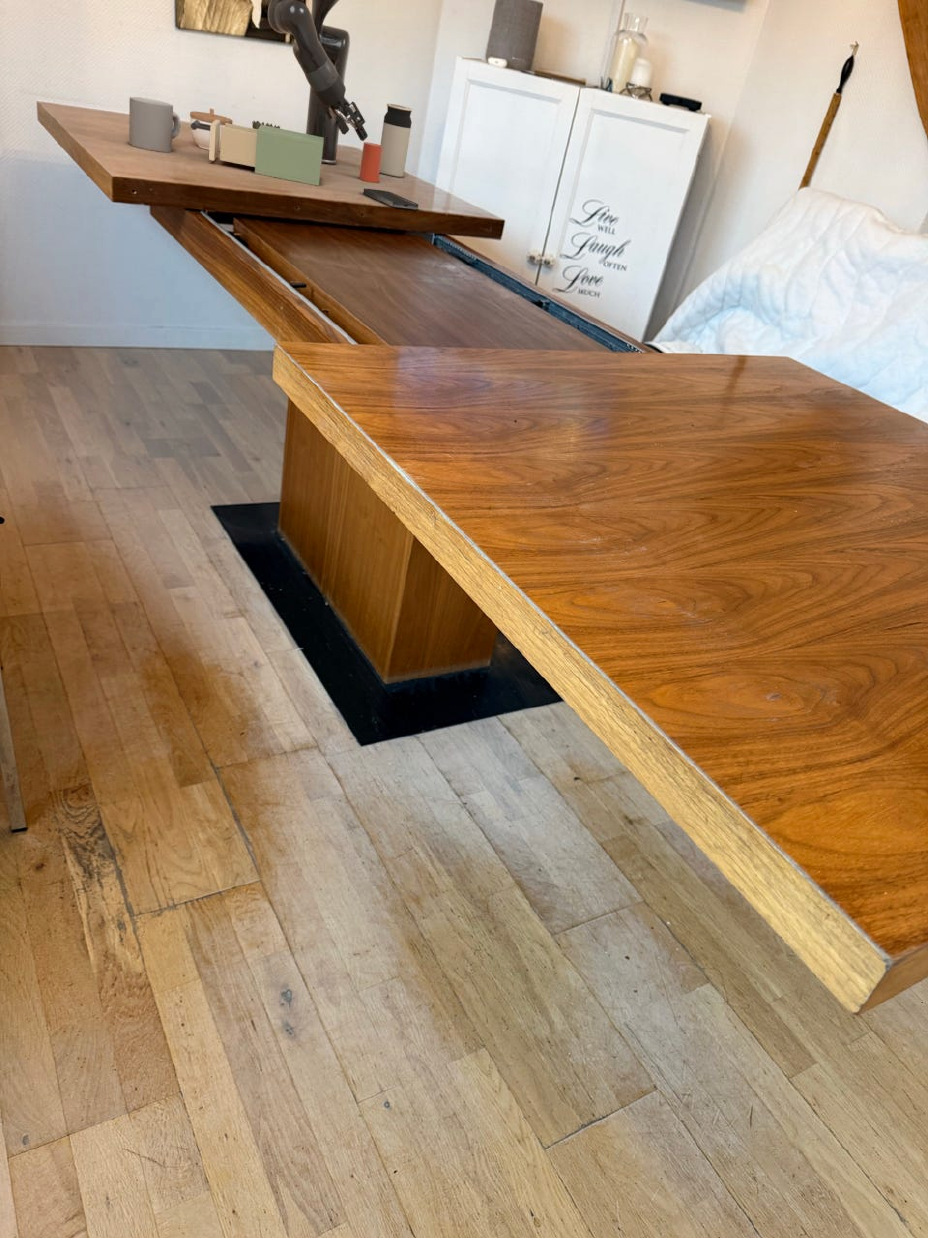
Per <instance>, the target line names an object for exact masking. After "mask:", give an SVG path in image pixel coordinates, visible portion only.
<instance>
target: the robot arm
mask: <svg viewBox="0 0 928 1238" xmlns="http://www.w3.org/2000/svg"><path fill="white" fill-rule="evenodd" d="M339 1H340V0H311V11H310V9H309V8H308V6H307V5H306V4H305V3H304V0H270V2H269V4H268V9H267V19H268V23H269V25H270V27H271V28H272V29H273V31H275V32H276V33H280V34H290V35H292V36H293V38H294V40H295V41H294V43H293V44H292V53H293V56H294V57H295V60H296V62H297V63H298V64H299V67H300V68H301V70H302V72H303V74H304V77H305V78H306V81H307V83H308V85H309V96H308V105H307V106H308V107H307V115H306V116H307V120H306V126H305V127H306V128H305V134H309V135H314V136H318V137H323V138H324V140H323V151H322V161H321V164H326V165H327V164H329V165H335V164H336V163H337V153H338V145H339V135H340V133H341V134H342V135H346V134H347V133H349V131H350V127H349V125H350V126H351V127H352V128H353V129H354V131H355V133H356V135H357V137H358V139H359V140H360V141H362V142H365V140H366V139H367V138H368V136H369V135H368V133H367V131H366V129H365V127H364V124H365V123H366V120H365V117H364V116H363V115H362V113H361V111H360V109H359V107H358V106H357V104H356V102H354V101H351V102H350V101H349V100H348V99H346V98H345V95H346V91H347V90H346V89H347V88H346V85H345V81H346V80H345V79H346V72H347V66H348V61H349V55H350V45H351V39H350V38H351V37H350V33H349V31H347V30H345V29H343V28H338V27H334V26H330V25H325V24H324V21H325V19H326V18H327V16H328V14H329V13H330V12H331V10H333V8H334V7H335V5H337V3H339ZM348 124H349V125H348Z"/></svg>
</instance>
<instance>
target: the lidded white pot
mask: <svg viewBox="0 0 928 1238" xmlns="http://www.w3.org/2000/svg"><path fill="white" fill-rule="evenodd" d="M189 117H190V118H189V119H190V120H189V125H190V132H191V136H192V138H193V140H194V142H195V143H196V144H197V147H198V148H200V149H204V150H208V151H209V147H210V131H207V130H203V129H198V128H197V129H196V130H193V129H192V128H191V124H192V123H193V122H194V121H196V120H198V121H199V122H200V123H203V124H207V125H211V123H212V122H213V121H215V120H220V138H219V152H220V148H221V129H222V127H225V123H229V124H233V119H231V118H230V117H227V116H223V115H220V114H219V115H218V114H216V113H215V109H214V108H209V112H203V111H194V110H193V111H190V112H189Z"/></svg>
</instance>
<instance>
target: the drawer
mask: <svg viewBox="0 0 928 1238" xmlns="http://www.w3.org/2000/svg"><path fill="white" fill-rule="evenodd" d="M191 128H192V129H193V130H196V129H197V128H198V129H203V130H207V131H210V147H209V150H208V160H209V161H215V160H216V159H217V158H218V157H219V161H223V162H228V163H233V164H238V165H243V166H247V167H253V168H255V160H256V146H257V132H258V129H253V127H247V126H243V125H237V124H233V123H232V124H229V123H225V127H222V129H221V148H220V151H219V138H220V120H215V121H213V122H212V123H211V125H207V124H203V123H200V122H199V121H198V120H196V121H194V122H193V123H192V124H191V127H190V129H191Z"/></svg>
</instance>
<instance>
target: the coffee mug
mask: <svg viewBox="0 0 928 1238" xmlns="http://www.w3.org/2000/svg"><path fill="white" fill-rule="evenodd" d="M128 110H129V117H128V118H129V119H128V120H129V121H128V123H129V124H128V126H129V127H128V129H129V130H128V139H129V141H128V144H129V145H130V146H132V147H135V148H138V149H143V150H147V151H152V152H153V151H154V152H161V153H170V152H173V139H175V138H177V137H178V136H179V134H180V132H181V119H180V116H179V115H178V113H177V112H175V111H174V105H173V104H171V103H169V102H164V101H160V100H157V99H151V98H146V97H139V96H130V97H129V109H128Z"/></svg>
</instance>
